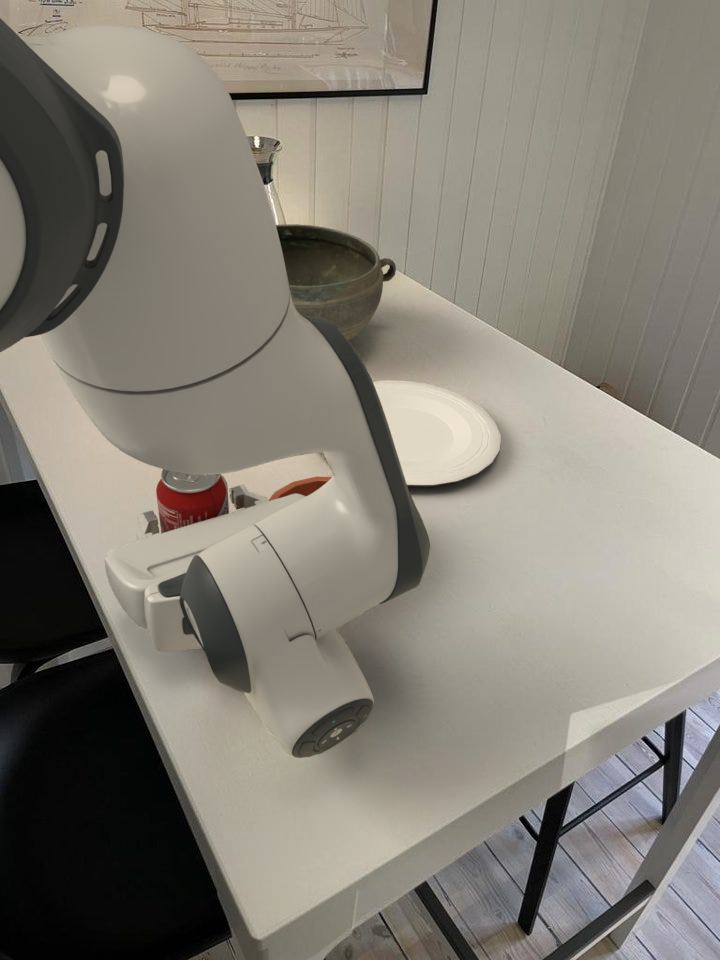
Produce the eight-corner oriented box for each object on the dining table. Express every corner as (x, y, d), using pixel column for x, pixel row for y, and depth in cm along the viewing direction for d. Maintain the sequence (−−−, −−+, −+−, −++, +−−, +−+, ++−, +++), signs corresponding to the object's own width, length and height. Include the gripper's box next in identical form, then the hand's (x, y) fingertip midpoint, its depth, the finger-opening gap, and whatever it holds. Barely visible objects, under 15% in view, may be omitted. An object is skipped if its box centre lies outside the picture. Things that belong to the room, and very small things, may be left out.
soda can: (214, 594, 75) (207, 501, 68) (153, 577, 77) (140, 484, 70) (241, 551, 81) (238, 461, 73) (184, 536, 82) (175, 446, 75)
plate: (527, 488, 93) (530, 476, 92) (328, 504, 88) (329, 491, 87) (465, 386, 113) (467, 375, 111) (299, 394, 108) (299, 383, 106)
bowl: (213, 396, 106) (207, 295, 97) (180, 317, 125) (173, 227, 116) (420, 369, 116) (432, 276, 107) (361, 300, 135) (367, 216, 126)
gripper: (353, 531, 68) (286, 452, 78) (129, 607, 59) (83, 507, 69) (349, 581, 72) (285, 500, 81) (138, 659, 63) (94, 558, 72)
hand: (191, 503), depth 75 cm, fingers open, 8 cm apart
